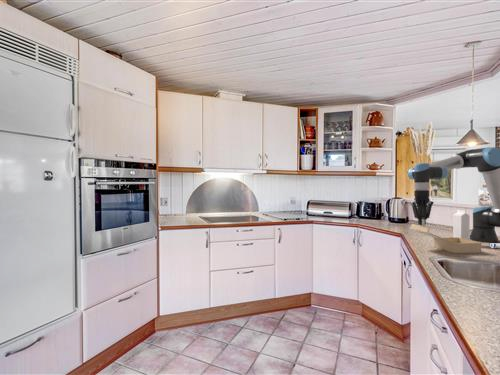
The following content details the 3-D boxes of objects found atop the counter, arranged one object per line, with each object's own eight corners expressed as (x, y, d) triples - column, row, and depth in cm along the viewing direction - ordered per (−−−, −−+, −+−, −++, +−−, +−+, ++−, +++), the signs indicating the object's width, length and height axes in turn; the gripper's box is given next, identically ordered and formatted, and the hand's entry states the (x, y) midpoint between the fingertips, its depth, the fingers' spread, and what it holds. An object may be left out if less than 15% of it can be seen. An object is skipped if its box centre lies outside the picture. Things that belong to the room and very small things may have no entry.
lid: (410, 223, 174) (409, 228, 174) (430, 228, 158) (428, 233, 158) (435, 233, 176) (433, 237, 176) (457, 238, 159) (455, 243, 159)
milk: (460, 243, 187) (461, 209, 186) (469, 245, 181) (469, 210, 180) (452, 243, 186) (453, 209, 185) (461, 245, 180) (461, 210, 179)
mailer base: (458, 246, 177) (458, 237, 177) (481, 253, 161) (481, 242, 161) (433, 247, 176) (433, 237, 175) (454, 253, 160) (454, 243, 159)
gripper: (427, 189, 170) (428, 228, 171) (407, 189, 169) (407, 229, 169) (437, 189, 162) (437, 231, 163) (415, 190, 161) (415, 231, 162)
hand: (421, 230), depth 166 cm, fingers closed
